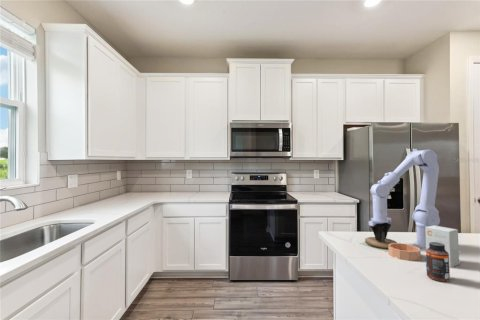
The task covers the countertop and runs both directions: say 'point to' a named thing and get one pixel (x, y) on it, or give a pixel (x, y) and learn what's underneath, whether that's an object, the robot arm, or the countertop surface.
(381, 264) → the countertop surface
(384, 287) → the countertop surface
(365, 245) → the mat
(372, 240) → the lid
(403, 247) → the bowl
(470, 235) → the countertop surface
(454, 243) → the small box
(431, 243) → the supplement bottle
